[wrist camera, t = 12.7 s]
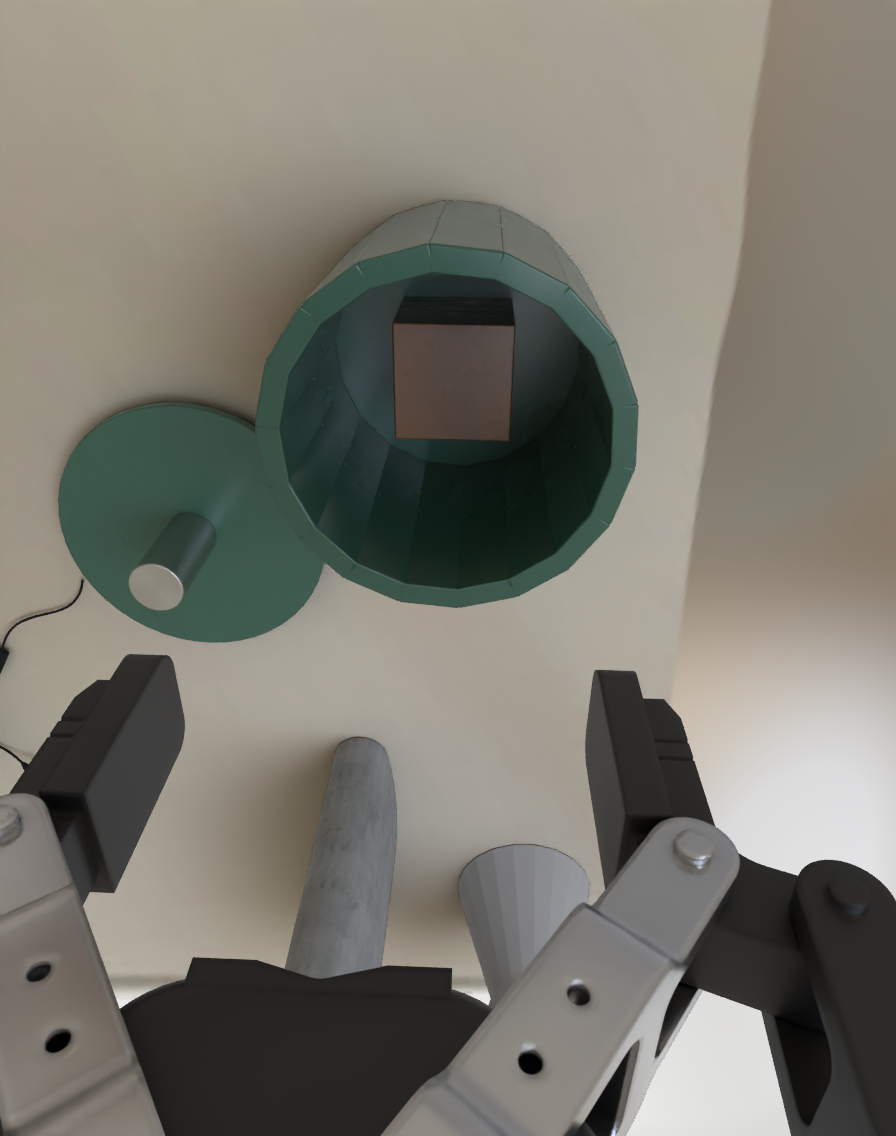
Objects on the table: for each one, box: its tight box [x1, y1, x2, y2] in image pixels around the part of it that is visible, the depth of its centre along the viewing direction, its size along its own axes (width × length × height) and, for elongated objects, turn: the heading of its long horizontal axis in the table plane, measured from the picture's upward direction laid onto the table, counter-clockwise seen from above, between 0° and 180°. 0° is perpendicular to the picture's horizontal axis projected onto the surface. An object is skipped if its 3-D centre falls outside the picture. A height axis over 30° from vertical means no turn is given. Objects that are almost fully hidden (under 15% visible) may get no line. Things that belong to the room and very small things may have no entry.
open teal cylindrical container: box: [255, 200, 639, 608], centre depth 31 cm, size 12×12×12 cm
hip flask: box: [285, 738, 397, 979], centre depth 43 cm, size 16×4×20 cm, turn 177°
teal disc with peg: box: [58, 402, 324, 642], centre depth 38 cm, size 13×13×6 cm
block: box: [392, 297, 516, 441], centre depth 33 cm, size 5×5×5 cm
